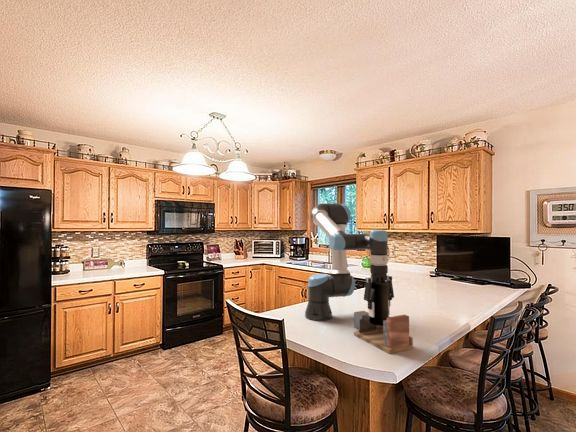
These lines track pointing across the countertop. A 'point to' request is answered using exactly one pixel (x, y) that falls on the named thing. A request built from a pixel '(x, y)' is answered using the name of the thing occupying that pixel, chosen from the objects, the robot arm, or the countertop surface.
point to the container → (380, 303)
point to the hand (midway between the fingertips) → (379, 315)
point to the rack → (390, 335)
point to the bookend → (363, 322)
